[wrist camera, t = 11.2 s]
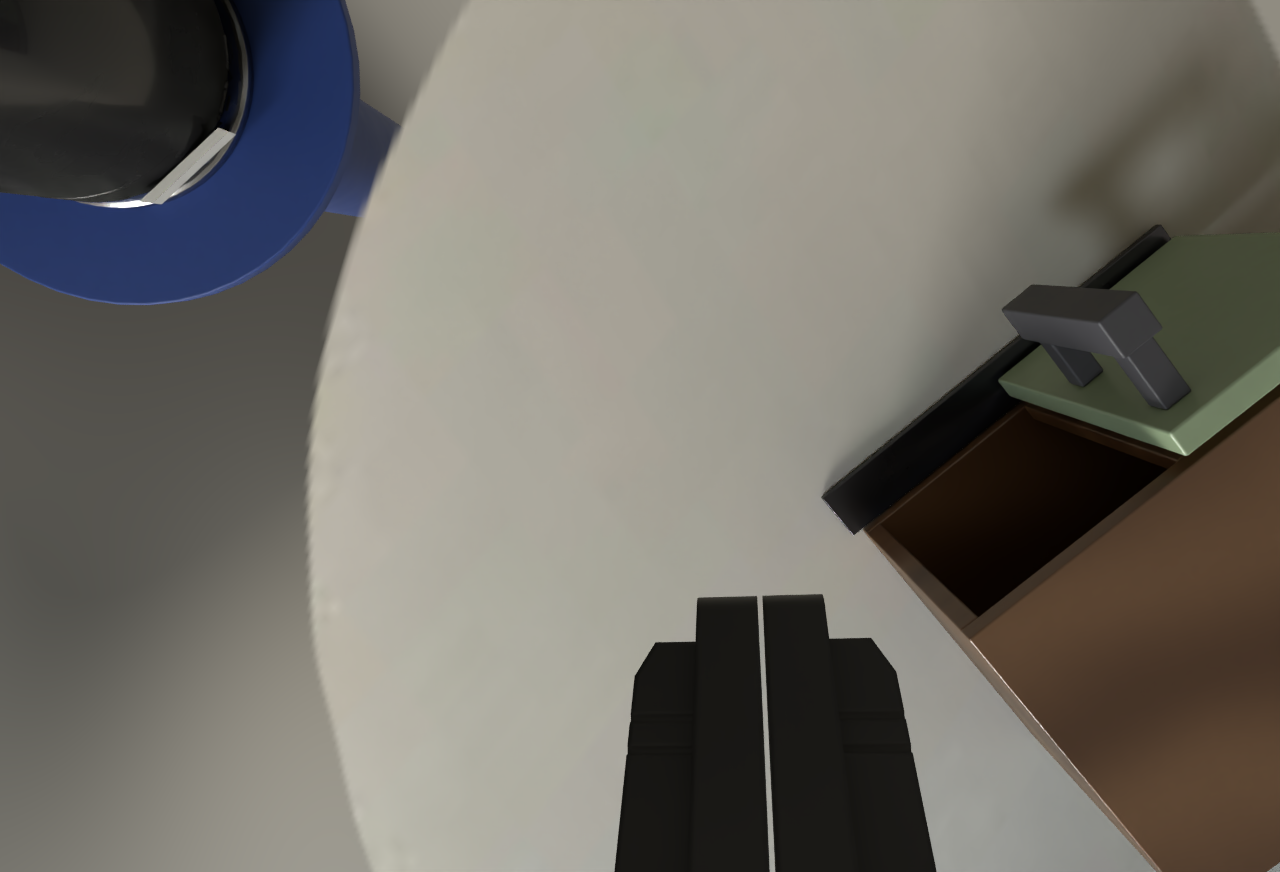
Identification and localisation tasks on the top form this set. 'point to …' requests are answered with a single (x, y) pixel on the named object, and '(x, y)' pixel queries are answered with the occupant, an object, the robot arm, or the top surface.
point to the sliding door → (1158, 341)
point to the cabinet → (1105, 596)
